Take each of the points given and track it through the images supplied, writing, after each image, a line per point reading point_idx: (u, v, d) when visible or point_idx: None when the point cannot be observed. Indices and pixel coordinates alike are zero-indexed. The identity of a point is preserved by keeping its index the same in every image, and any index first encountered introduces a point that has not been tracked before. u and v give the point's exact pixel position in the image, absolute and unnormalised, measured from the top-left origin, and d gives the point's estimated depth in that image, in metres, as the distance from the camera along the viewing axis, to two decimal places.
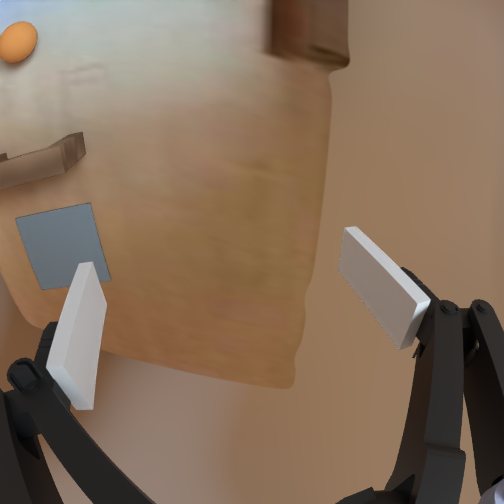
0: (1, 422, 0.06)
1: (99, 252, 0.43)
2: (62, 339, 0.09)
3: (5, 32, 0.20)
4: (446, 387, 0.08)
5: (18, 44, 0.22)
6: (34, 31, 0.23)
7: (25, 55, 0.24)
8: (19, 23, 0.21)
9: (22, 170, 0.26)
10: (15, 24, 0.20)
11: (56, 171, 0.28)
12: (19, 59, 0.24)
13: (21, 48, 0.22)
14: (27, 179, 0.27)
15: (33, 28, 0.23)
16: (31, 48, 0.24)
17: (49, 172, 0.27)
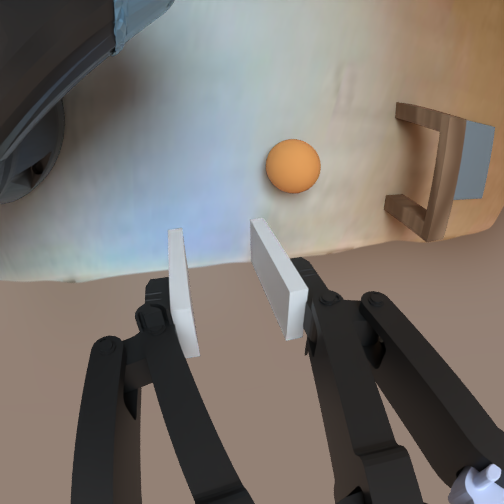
0: (111, 375, 0.09)
1: (478, 126, 0.36)
2: (179, 287, 0.12)
3: (288, 179, 0.29)
4: (355, 386, 0.08)
5: (311, 159, 0.29)
6: (290, 141, 0.29)
7: None
8: (277, 161, 0.29)
9: (452, 164, 0.28)
10: (278, 166, 0.29)
11: (463, 127, 0.26)
12: None
13: (315, 155, 0.29)
14: (459, 161, 0.28)
15: (285, 142, 0.29)
16: None
17: (462, 135, 0.26)
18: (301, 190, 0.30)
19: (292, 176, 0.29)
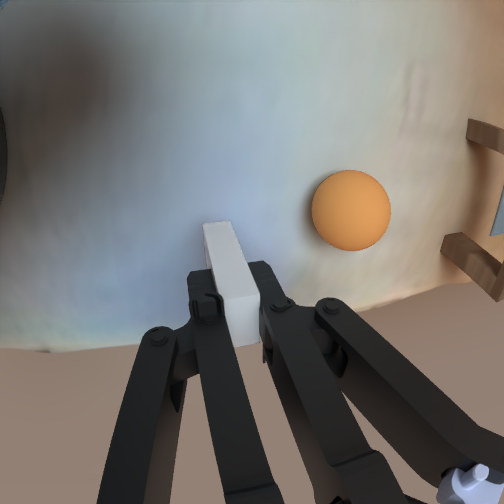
0: (160, 366, 0.09)
1: None
2: (225, 278, 0.13)
3: (349, 236, 0.19)
4: (318, 394, 0.08)
5: (384, 205, 0.18)
6: (351, 174, 0.19)
7: None
8: (335, 207, 0.19)
9: None
10: (336, 216, 0.19)
11: None
12: None
13: (386, 198, 0.19)
14: None
15: (345, 176, 0.19)
16: None
17: None
18: (363, 248, 0.20)
19: (356, 232, 0.19)
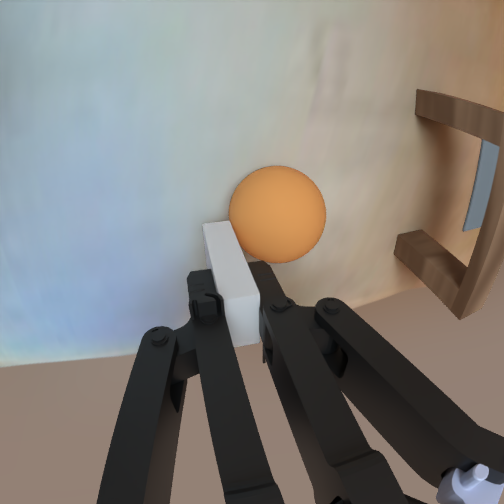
0: (160, 366, 0.09)
1: None
2: (225, 278, 0.13)
3: (301, 246, 0.16)
4: (318, 394, 0.08)
5: (322, 197, 0.17)
6: (276, 173, 0.16)
7: None
8: (280, 220, 0.15)
9: None
10: (283, 230, 0.15)
11: None
12: None
13: None
14: None
15: (272, 178, 0.16)
16: None
17: None
18: None
19: (309, 239, 0.16)
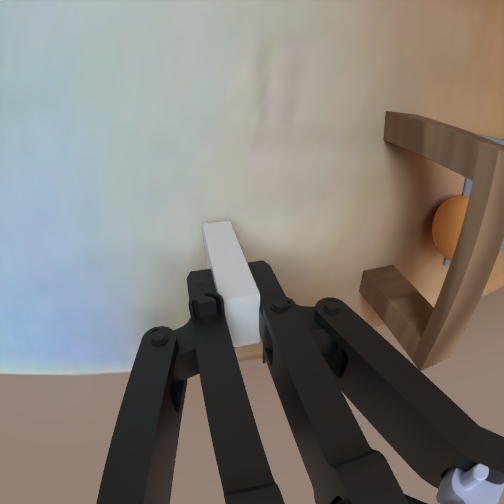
0: (160, 366, 0.09)
1: None
2: (225, 278, 0.13)
3: None
4: (318, 394, 0.08)
5: None
6: None
7: None
8: None
9: (489, 246, 0.13)
10: None
11: None
12: None
13: None
14: (500, 237, 0.13)
15: None
16: None
17: None
18: None
19: None
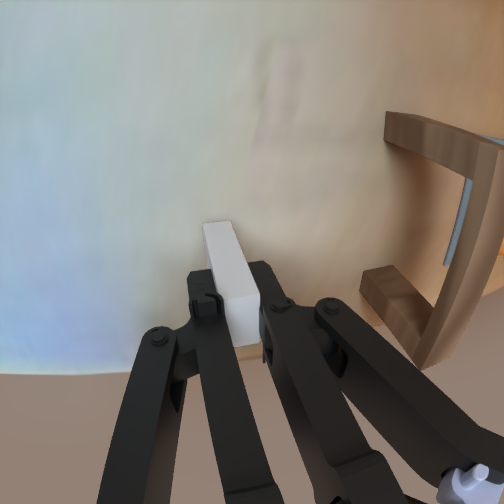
0: (160, 366, 0.09)
1: None
2: (225, 278, 0.13)
3: None
4: (318, 394, 0.08)
5: None
6: None
7: None
8: None
9: (489, 246, 0.13)
10: None
11: None
12: None
13: None
14: (500, 237, 0.13)
15: None
16: None
17: None
18: None
19: None
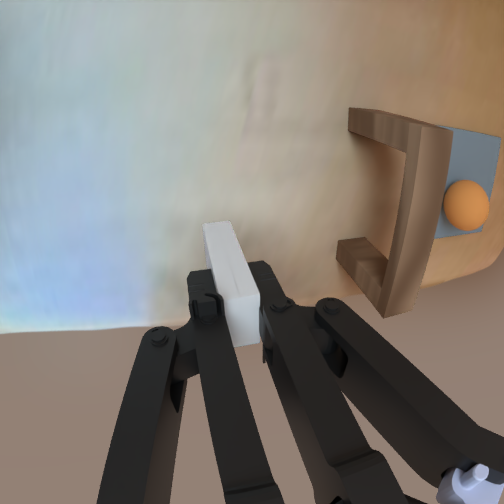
0: (161, 366, 0.09)
1: (478, 137, 0.27)
2: (225, 278, 0.13)
3: None
4: (318, 394, 0.08)
5: (452, 191, 0.27)
6: (469, 180, 0.27)
7: (473, 199, 0.25)
8: None
9: (427, 205, 0.18)
10: None
11: (448, 144, 0.16)
12: (470, 207, 0.25)
13: (458, 192, 0.26)
14: (439, 199, 0.18)
15: None
16: (474, 190, 0.25)
17: (445, 157, 0.17)
18: (448, 219, 0.29)
19: None
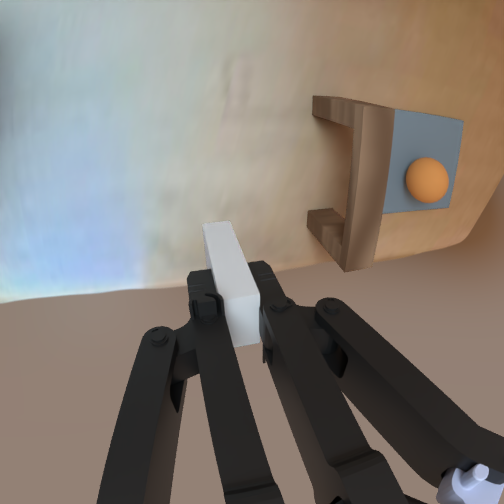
0: (161, 366, 0.09)
1: (439, 119, 0.32)
2: (225, 278, 0.13)
3: None
4: (318, 394, 0.08)
5: (412, 167, 0.32)
6: None
7: (431, 173, 0.30)
8: None
9: (374, 171, 0.23)
10: None
11: (390, 120, 0.21)
12: (428, 180, 0.30)
13: (417, 167, 0.31)
14: (386, 166, 0.23)
15: None
16: (432, 165, 0.30)
17: (388, 130, 0.21)
18: (410, 192, 0.34)
19: None
